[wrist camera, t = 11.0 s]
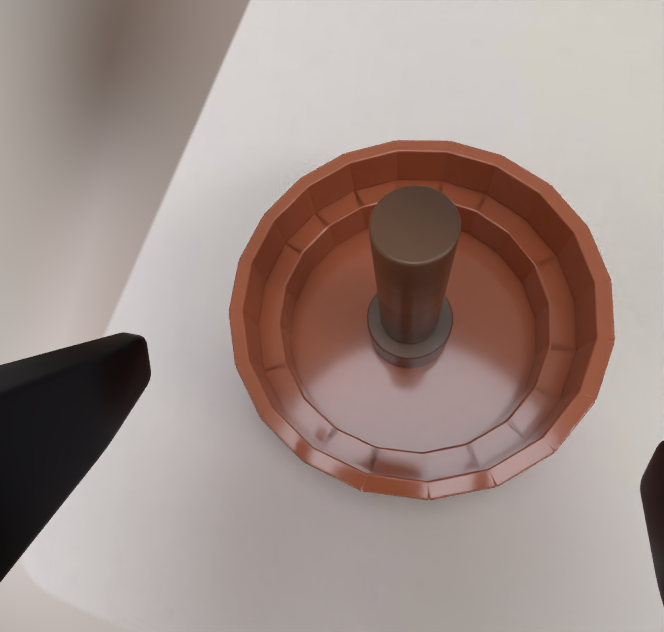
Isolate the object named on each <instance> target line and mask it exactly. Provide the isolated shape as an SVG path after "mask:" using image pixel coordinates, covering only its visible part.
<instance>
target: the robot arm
mask: <svg viewBox="0 0 664 632" xmlns="http://www.w3.org/2000/svg"><path fill="white" fill-rule="evenodd" d="M150 377H151V368H150V361H149V355H148V348H147V342H146V340H145V338H144V337H142V336H140V335H135V334H130V333H118V334H115V335H111V336H107V337H103V338H100V339H96V340H92V341H89V342H85V343H81V344H78V345H74V346H70V347H66V348H62V349H59V350H55V351H52V352H48V353H44V354H40V355H36V356H33V357H29V358H25V359H21V360H18V361H14V362H11V363H7V364H3V365H0V582H1V581H2V580H3V578H4V577H5V576H6V574H7V573H8V572H9V571H10V569H11V568H12V567H13V566H14V564H15V563H16V562H17V561H18V559H19V558H20V557H21V556H22V554H23V553H24V552H25V551H26V549H27V548H28V547H29V546H30V544H31V543H32V542H33V540H34V539H35V538H36V537H37V535H38V534H39V533H40V532H41V530H42V529H43V528H44V527H45V525H46V524H47V523H48V522H49V520H50V519H51V518H52V517H53V515H54V514H55V513H56V511H57V510H58V509H59V508H60V506H61V505H62V504H63V503H64V501H65V500H66V499H67V498H68V496H69V495H70V494H71V493H72V491H73V490H74V489H75V488H76V486H77V485H78V484H79V483H80V481H81V480H82V479H83V477H84V476H85V475H86V474H87V472H88V471H89V470H90V469H91V467H92V466H93V465H94V464H95V462H96V461H97V460H98V459H99V457H100V456H101V455H102V453H103V452H104V451H105V449H106V448H107V447H108V445H109V444H110V442H111V441H112V439H113V438H114V436H115V435H116V433H117V432H118V430H119V429H120V427H121V425H122V424H123V422H124V421H125V419H126V418H127V416H128V415H129V413H130V411H131V410H132V408H133V407H134V405H135V404H136V402H137V401H138V399H139V397H140V396H141V394H142V393H143V391H144V390H145V388H146V387H147V385H148V383H149V380H150ZM640 492H641V498H642V504H643V509H644V515H645V520H646V525H647V531H648V536H649V542H650V547H651V552H652V558H653V563H654V569H655V574H656V578H657V583H658V587H659V591H660V595H661V598H662V602H663V605H664V441H662V442H661V443H660V444H659V445H658V446H657V448H656V450H655V452H654V454H653V456H652V458H651V460H650V462H649V464H648V466H647V468H646V470H645V472H644V474H643V477H642V479H641V485H640Z"/></svg>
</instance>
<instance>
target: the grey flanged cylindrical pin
mask: <svg viewBox="0 0 664 632" xmlns="http://www.w3.org/2000/svg"><path fill="white" fill-rule="evenodd" d="M460 232H461V219H460V215H459V212H458V210H457V208H456V206H455V205H454V203H453V202H452V201H451V200H450V199H449V198H448V197H447V196H446V195H445V194H444V193H442V192H440V191H439V190H436V189H434V188H431V187H428V186H422V185H410V186H404V187H401V188H398V189H395V190H393V191H391V192H389V193H388V194H387V195H385V196H384V197H383V198H382V199H381V200H380V201H379V202H378V203H377V204H376V206H375V207H374V209H373V211H372V213H371V216H370V219H369V237H370V244H371V251H372V258H373V265H374V272H375V279H376V286H377V293H376V294H375V296H374V297H373V299H372V300H371V303H370V305H369V308H368V313H367V324H368V329H369V333H370V337H371V341H372V344H373V346H374V348H375V349H376V351H377V352H378V354H379V355H380V356H381V357H382V358H383V359H385V360H386V361H387V362H389V363H391V364H393V365H396V366H399V367H404V368H416V367H421V366H424V365H426V364H428V363H430V362H432V361H433V360H435V359H436V358H437V357H438V356H439V355H440V354H441V353H442V351H443V350H444V348H445V346H446V343H447V341H448V338H449V335H450V333H451V330H452V325H453V312H452V308H451V305H450V303H449V301H448V299H447V297H446V296H445V292H446V288H447V284H448V280H449V276H450V272H451V268H452V264H453V260H454V256H455V252H456V248H457V244H458V240H459V236H460Z"/></svg>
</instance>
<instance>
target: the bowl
mask: <svg viewBox="0 0 664 632" xmlns="http://www.w3.org/2000/svg"><path fill="white" fill-rule="evenodd" d="M410 185H422V186H428V187H431V188H434V189H436V190H439V191H440V192H442V193H444V194H445V195H446V196H447V197H448V198H449V199H450V200H451V201H452V202H453V203H454V205H455V206H456V208H457V210H458V212H459V215H460V219H461V232H460V236H459V240H458V244H457V248H456V252H455V256H454V260H453V264H452V268H451V272H450V276H449V280H448V284H447V288H446V292H445V296H446V297H447V299H448V301H449V303H450V305H451V308H452V312H453V325H452V330H451V333H450V335H449V338H448V341H447V343H446V346H445V348H444V350H443V351H442V353H441V354H440V355H439V356H438V357H437V358H436V359H435V360H433V361H432V362H430V363H428V364H426V365H424V366H421V367H416V368H404V367H399V366H396V365H393V364H391V363H389V362H387V361H386V360H385V359H383V358H382V357H381V356H380V355H379V354H378V352H377V351H376V349H375V348H374V346H373V344H372V341H371V337H370V333H369V329H368V324H367V313H368V308H369V305H370V303H371V300H372V299H373V297H374V296H375V294H376V293H377V286H376V279H375V272H374V265H373V258H372V251H371V244H370V237H369V219H370V216H371V213H372V211H373V209H374V207H375V206H376V204H377V203H378V202H379V201H380V200H381V199H382V198H383V197H384V196H385V195H387V194H388V193H389V192H391V191H393V190H395V189H398V188H401V187H404V186H410ZM610 281H611V279H610V276H609V274H608V272H607V269H606V267H605V265H604V262H603V260H602V258H601V255H600V253H599V251H598V248H597V246H596V244H595V241H594V239H593V237H592V234H591V232H590V230H589V228H588V226H587V225H586V224H585V223H584V222H583V220H582V219H581V218H580V217H579V216H578V215H577V214H576V213H575V211H574V210H573V209H572V208H571V207H570V206H569V205H568V204H567V202H566V201H565V200H564V199H563V198H562V197H561V196H560V195H559V193H558V192H557V191H556V190H555V189H554V188H553V187H552V186H551V185H549V184H548V183H547V182H545V181H544V180H542V179H540V178H539V177H537V176H535V175H534V174H532V173H530V172H529V171H527V170H525V169H524V168H522V167H521V166H519V165H517V164H516V163H514V162H512V161H511V160H509V159H507V158H506V157H504V156H502V155H499V154H496V153H492V152H488V151H485V150H481V149H478V148H474V147H470V146H467V145H463V144H460V143H456V142H452V141H450V142H449V141H415V140H397V141H391V142H387V143H384V144H380V145H376V146H372V147H368V148H364V149H360V150H356V151H352V152H348V153H346V154H342V155H341V156H339V157H337V158H335V159H334V160H332V161H330V162H328V163H326V164H325V165H323V166H321V167H319V168H318V169H316V170H314V171H312V172H310V173H309V174H307V175H305V176H303V177H302V178H300V179H299V180H298V181H297V182H296V183H295V184H294V185H293V186H292V187H291V188H290V189H289V190H288V191H287V192H286V193H285V194H284V195H283V196H282V197H281V198H280V199H279V200H278V201H277V202H276V203H275V204H274V205H273V206H272V207H271V208H270V209H269V210H268V211H267V212H266V213H265V214H264V216H263V217H262V219H261V220H260V222H259V224H258V226H257V228H256V230H255V231H254V233H253V235H252V237H251V239H250V241H249V243H248V244H247V246H246V248H245V250H244V252H243V254H242V255H241V257H240V259H239V262H238V267H237V272H236V277H235V282H234V287H233V292H232V298H231V303H230V308H229V319H230V327H231V335H232V343H233V351H234V359H235V365H236V369H237V371H238V373H239V375H240V377H241V379H242V381H243V383H244V385H245V387H246V389H247V391H248V393H249V396H250V398H251V400H252V402H253V404H254V406H255V408H256V410H257V412H258V414H259V416H260V417H261V419H262V420H263V421H264V422H265V423H266V424H267V425H268V426H269V428H270V429H271V430H272V431H273V432H274V433H275V434H276V435H277V436H278V437H279V438H280V439H281V440H282V441H283V442H284V443H285V444H286V445H287V446H288V447H289V448H290V449H291V450H292V451H293V452H294V453H295V454H296V455H297V456H298V457H299V458H300V459H301V460H302V461H304V462H305V463H307V464H309V465H311V466H313V467H315V468H317V469H319V470H321V471H323V472H325V473H327V474H329V475H331V476H333V477H335V478H337V479H339V480H341V481H343V482H345V483H347V484H349V485H351V486H353V487H355V488H357V489H359V490H363V491H364V492H372V493H379V494H386V495H393V496H401V497H408V498H415V499H422V500H429V499H430V500H434V499H439V498H444V497H449V496H454V495H459V494H464V493H470V492H475V491H480V490H485V489H490V488H495V487H496V486H500V485H501V484H503V483H505V482H506V481H508V480H510V479H511V478H513V477H515V476H516V475H518V474H520V473H521V472H523V471H525V470H526V469H528V468H530V467H531V466H533V465H535V464H537V463H538V462H540V461H542V460H543V459H545V458H547V457H548V456H550V455H552V454H553V453H554V451H557V449H558V448H559V447H560V446H561V444H562V443H563V442H564V441H565V439H566V438H567V437H568V436H569V434H570V433H571V432H572V431H573V429H574V428H575V427H576V426H577V424H578V423H579V422H580V421H581V419H582V418H583V417H584V416H585V414H586V413H587V412H588V411H589V409H590V408H591V407H592V406H593V404H594V403H595V400H596V399H597V396H598V393H599V390H600V387H601V384H602V380H603V377H604V374H605V371H606V368H607V365H608V362H609V358H610V355H611V352H612V349H613V346H614V340H615V336H614V318H613V301H612V283H611V282H610Z"/></svg>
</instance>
